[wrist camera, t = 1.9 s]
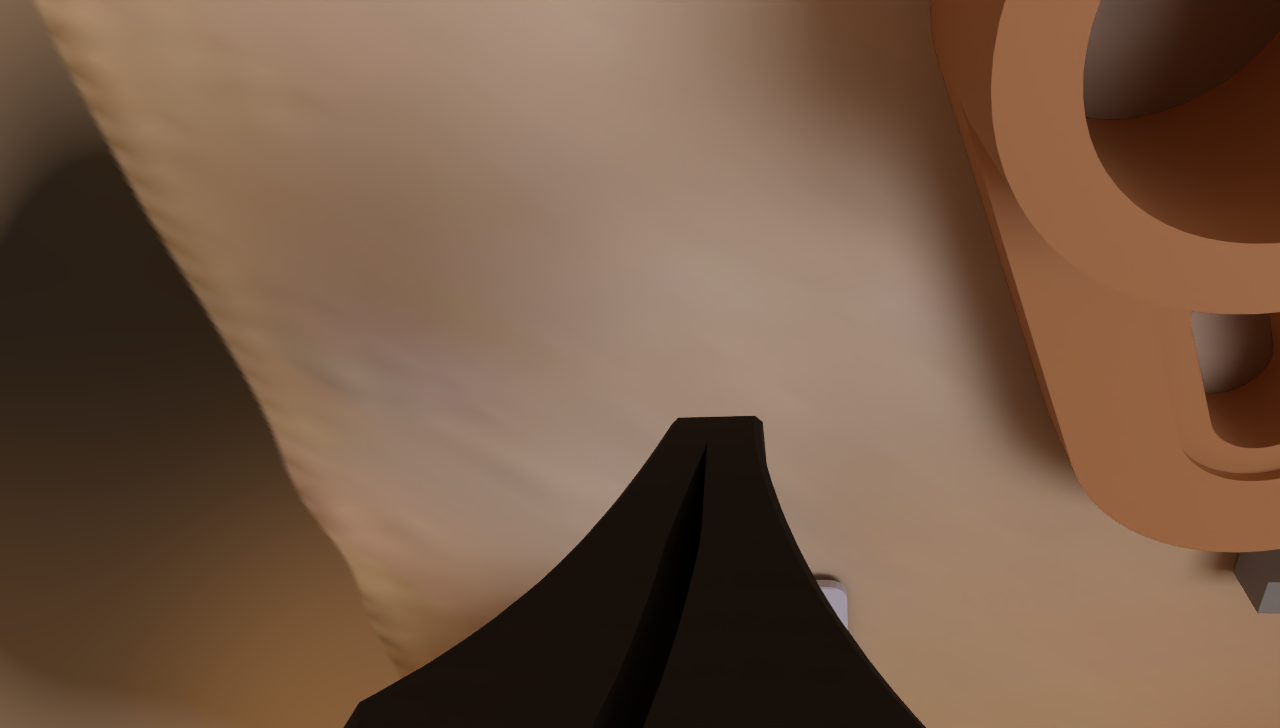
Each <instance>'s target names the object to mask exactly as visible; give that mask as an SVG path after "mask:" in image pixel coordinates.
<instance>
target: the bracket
mask: <svg viewBox="0 0 1280 728" xmlns="http://www.w3.org/2000/svg"><path fill="white" fill-rule="evenodd" d="M1100 1H1101V0H931V6H930V13H931V26H932V36H933V41H934V46H935V51H936V56H937V59H938V63H939V66H940V69H941V72H942V75H943V79H944V82H945V85H946V88H947V91H948V95H949V98H950V101H951V104H952V107H953V111H954V114H955V117H956V120H957V123H958V127H959V130H960V133H961V136H962V139H963V143H964V146H965V149H966V152H967V155H968V159H969V162H970V165H971V168H972V171H973V175H974V178H975V181H976V184H977V187H978V191H979V194H980V197H981V200H982V203H983V207H984V210H985V213H986V216H987V219H988V223H989V226H990V229H991V232H992V235H993V239H994V242H995V245H996V248H997V251H998V255H999V258H1000V261H1001V264H1002V267H1003V271H1004V274H1005V277H1006V280H1007V283H1008V287H1009V290H1010V293H1011V296H1012V299H1013V303H1014V306H1015V309H1016V312H1017V315H1018V319H1019V322H1020V325H1021V328H1022V331H1023V335H1024V338H1025V341H1026V344H1027V347H1028V351H1029V354H1030V357H1031V360H1032V363H1033V367H1034V370H1035V373H1036V376H1037V379H1038V383H1039V386H1040V389H1041V392H1042V395H1043V399H1044V402H1045V405H1046V407H1047V410H1048V412H1049V415H1050V417H1051V420H1052V422H1053V424H1054V427H1055V429H1056V431H1057V434H1058V436H1059V438H1060V440H1061V443H1062V445H1063V447H1064V450H1065V452H1066V454H1067V457H1068V459H1069V461H1070V464H1071V466H1072V468H1073V471H1074V473H1075V475H1076V477H1077V479H1078V481H1079V483H1080V484H1081V486H1082V488H1083V490H1084V491H1085V492H1086V494H1087V495H1088V496H1089V497H1090V499H1091V500H1092V501H1093V502H1094V503H1095V504H1096V505H1097V506H1098V507H1099V508H1100V509H1101V510H1102V511H1103V512H1104V513H1105V514H1107V515H1108V516H1109V517H1111V518H1112V519H1113V520H1115V521H1116V522H1118V523H1119V524H1121V525H1123V526H1125V527H1126V528H1128V529H1130V530H1132V531H1134V532H1136V533H1138V534H1141V535H1143V536H1145V537H1148V538H1150V539H1153V540H1156V541H1159V542H1162V543H1166V544H1170V545H1174V546H1178V547H1183V548H1189V549H1195V550H1203V551H1214V552H1255V551H1267V550H1275V549H1280V30H1279V31H1278V33H1277V34H1276V35H1275V36H1274V37H1273V39H1272V40H1271V41H1270V42H1269V43H1268V44H1267V45H1266V46H1265V47H1264V48H1263V49H1262V50H1261V51H1260V52H1259V53H1258V54H1257V55H1256V56H1255V57H1254V58H1253V59H1252V60H1251V61H1250V62H1249V63H1247V64H1246V65H1245V66H1244V67H1243V68H1242V69H1241V70H1239V71H1238V72H1237V73H1235V74H1234V75H1232V76H1231V77H1230V78H1228V79H1227V80H1226V81H1224V82H1223V83H1221V84H1220V85H1218V86H1216V87H1215V88H1213V89H1212V90H1210V91H1208V92H1206V93H1205V94H1203V95H1201V96H1199V97H1197V98H1195V99H1193V100H1191V101H1189V102H1186V103H1184V104H1181V105H1179V106H1177V107H1174V108H1171V109H1168V110H1165V111H1162V112H1159V113H1155V114H1151V115H1146V116H1142V117H1135V118H1128V119H1111V120H1109V119H1093V118H1087V117H1085V109H1084V100H1083V72H1084V64H1085V57H1086V49H1087V45H1088V41H1089V37H1090V32H1091V28H1092V24H1093V21H1094V18H1095V16H1096V13H1097V10H1098V7H1099V4H1100ZM1192 311H1193V312H1205V313H1216V314H1263V313H1269V318H1270V324H1271V331H1272V337H1273V344H1274V351H1273V356H1272V358H1271V361H1270V363H1269V364H1268V366H1267V367H1266V369H1265V370H1264V371H1263V372H1262V373H1261V374H1260V375H1259V376H1258V377H1257V378H1255V379H1254V380H1252V381H1251V382H1249V383H1248V384H1246V385H1244V386H1242V387H1239V388H1237V389H1234V390H1231V391H1227V392H1222V393H1205V392H1204V387H1203V382H1202V377H1201V372H1200V367H1199V362H1198V357H1197V352H1196V347H1195V343H1194V338H1193V333H1192V328H1191V313H1192Z"/></svg>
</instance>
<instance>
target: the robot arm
mask: <svg viewBox="0 0 1280 728" xmlns="http://www.w3.org/2000/svg"><path fill="white" fill-rule="evenodd" d="M344 728H926V727H925V726H924V725H923V724H922V723H921V722H920V721H919V719H918V718H917V717H916V716H915V715H914V714H913V713H912V712H911V710H910V709H909V708H908V707H907V706H906V705H905V704H904V702H903V701H902V700H901V699H900V698H899V697H898V695H897V694H896V693H895V692H894V691H893V690H892V688H891V687H890V686H889V685H888V683H887V682H886V681H885V680H884V678H883V677H882V676H881V675H880V673H879V672H878V671H877V670H876V668H875V667H874V666H873V665H872V663H871V662H870V661H869V659H868V658H867V657H866V655H865V654H864V652H863V651H862V650H861V648H860V647H859V645H858V644H857V642H856V641H855V640H854V638H853V637H852V635H851V634H850V633H849V631H848V619H847V592H846V588H845V587H844V586H843V585H842V584H841V583H839V582H837V581H833V580H816V579H815V578H814V576H813V574H812V572H811V570H810V569H809V567H808V565H807V563H806V561H805V559H804V557H803V555H802V553H801V551H800V549H799V547H798V545H797V543H796V541H795V539H794V537H793V534H792V532H791V530H790V528H789V526H788V524H787V521H786V519H785V516H784V514H783V512H782V509H781V506H780V504H779V501H778V498H777V495H776V493H775V490H774V487H773V484H772V481H771V478H770V475H769V471H768V468H767V463H766V453H765V442H764V432H763V422H762V421H761V420H759V419H758V418H757V417H756V416H731V417H691V418H678V419H677V420H676V421H675V422H674V423H673V424H672V425H671V426H670V428H669V429H668V431H667V432H666V434H665V435H664V437H663V438H662V440H661V441H660V443H659V444H658V446H657V447H656V449H655V450H654V452H653V453H652V454H651V456H650V457H649V459H648V460H647V461H646V463H645V464H644V465H643V467H642V468H641V470H640V471H639V472H638V474H637V475H636V476H635V477H634V479H633V480H632V481H631V483H630V484H629V485H628V487H627V488H626V489H625V490H624V492H623V493H622V494H621V496H620V497H619V498H618V499H617V501H616V502H615V503H614V504H613V505H612V507H611V508H610V509H609V510H608V511H607V512H606V514H605V515H604V516H603V517H602V518H601V519H600V520H599V522H598V523H597V524H596V525H595V526H594V527H593V528H592V530H591V531H590V532H589V533H588V534H587V535H586V536H585V537H584V539H583V540H582V541H581V542H580V543H579V544H578V545H577V546H576V547H575V548H574V549H573V550H572V551H571V552H570V553H569V554H568V555H567V556H566V557H565V558H564V559H563V560H562V561H561V562H560V563H559V564H558V565H557V566H556V567H555V568H554V569H553V570H552V571H551V572H549V573H548V574H547V575H546V576H545V577H544V578H543V579H542V580H541V581H540V582H539V583H537V584H536V585H535V586H534V587H533V588H532V589H530V590H529V591H528V592H527V593H525V594H524V595H523V596H522V597H520V598H519V599H518V600H517V601H516V602H514V603H513V604H512V605H511V606H509V607H508V608H507V609H506V610H504V611H503V612H502V613H501V614H499V615H498V616H497V617H496V618H494V619H493V620H492V621H490V622H489V623H488V624H486V625H485V626H483V627H482V628H481V629H479V630H478V631H476V632H475V633H473V634H472V635H471V636H469V637H468V638H466V639H465V640H463V641H462V642H460V643H459V644H457V645H456V646H454V647H453V648H451V649H450V650H448V651H447V652H445V653H444V654H442V655H441V656H439V657H438V658H436V659H434V660H433V661H431V662H430V663H428V664H426V665H425V666H423V667H421V668H420V669H418V670H416V671H414V672H413V673H411V674H409V675H407V676H406V677H404V678H402V679H400V680H399V681H397V682H395V683H394V684H392V685H390V686H388V687H387V688H385V689H383V690H381V691H380V692H378V693H376V694H374V695H372V696H370V697H369V698H367V699H365V700H363V701H361V702H359V704H358V705H357V707H356V709H355V710H354V712H353V714H352V715H351V717H350V718H349V720H348V722H347V723H346V725H345V726H344Z"/></svg>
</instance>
